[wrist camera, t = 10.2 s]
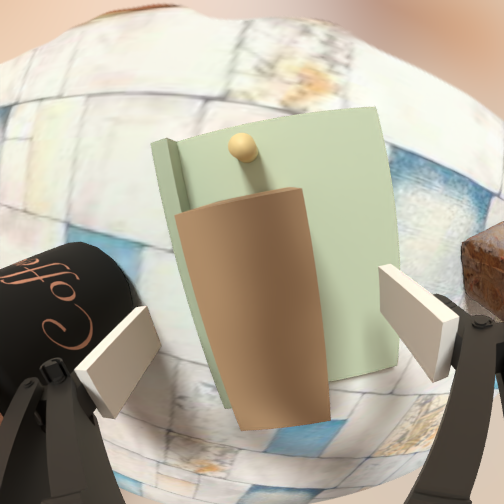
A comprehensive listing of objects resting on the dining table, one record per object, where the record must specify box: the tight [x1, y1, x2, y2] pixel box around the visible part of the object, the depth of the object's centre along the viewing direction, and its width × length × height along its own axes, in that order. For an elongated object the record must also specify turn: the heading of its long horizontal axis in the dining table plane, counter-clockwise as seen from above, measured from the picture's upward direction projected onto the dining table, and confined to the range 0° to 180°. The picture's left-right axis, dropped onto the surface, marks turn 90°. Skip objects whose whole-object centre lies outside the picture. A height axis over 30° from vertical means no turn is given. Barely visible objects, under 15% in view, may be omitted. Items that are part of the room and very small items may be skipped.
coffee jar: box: [0, 242, 133, 424], centre depth 15 cm, size 11×11×18 cm
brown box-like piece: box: [174, 187, 331, 431], centre depth 16 cm, size 5×12×9 cm, turn 12°
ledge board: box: [151, 107, 400, 409], centre depth 19 cm, size 16×22×4 cm
